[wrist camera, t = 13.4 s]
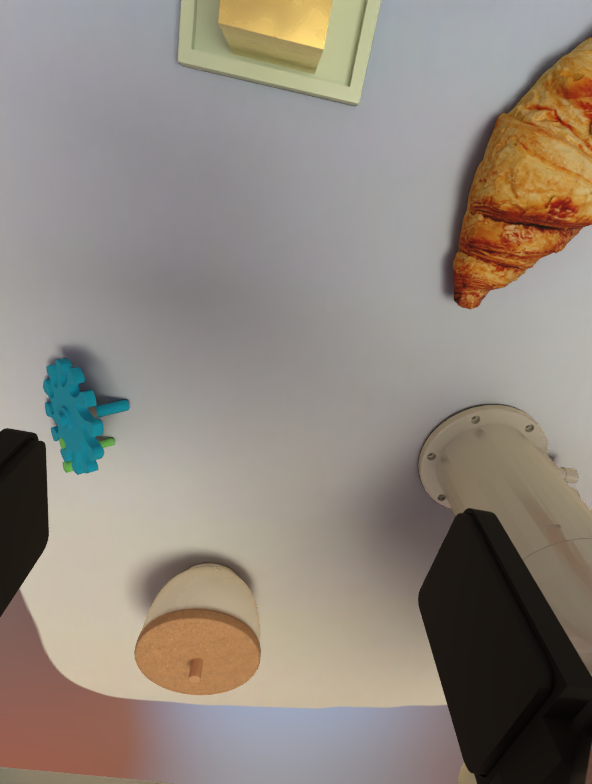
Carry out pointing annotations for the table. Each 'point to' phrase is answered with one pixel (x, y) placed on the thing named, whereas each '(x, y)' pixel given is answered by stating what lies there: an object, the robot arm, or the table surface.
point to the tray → (331, 80)
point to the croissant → (530, 182)
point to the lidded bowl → (201, 633)
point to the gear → (77, 417)
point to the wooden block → (277, 30)
